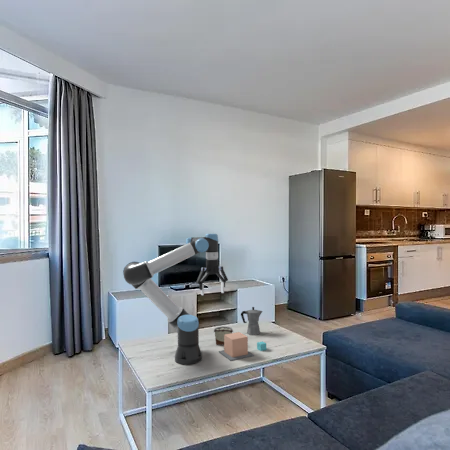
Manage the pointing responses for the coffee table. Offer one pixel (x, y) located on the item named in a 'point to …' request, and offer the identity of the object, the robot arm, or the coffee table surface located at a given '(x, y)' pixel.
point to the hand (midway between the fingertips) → (212, 293)
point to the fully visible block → (261, 346)
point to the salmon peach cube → (235, 344)
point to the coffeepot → (252, 321)
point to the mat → (235, 357)
